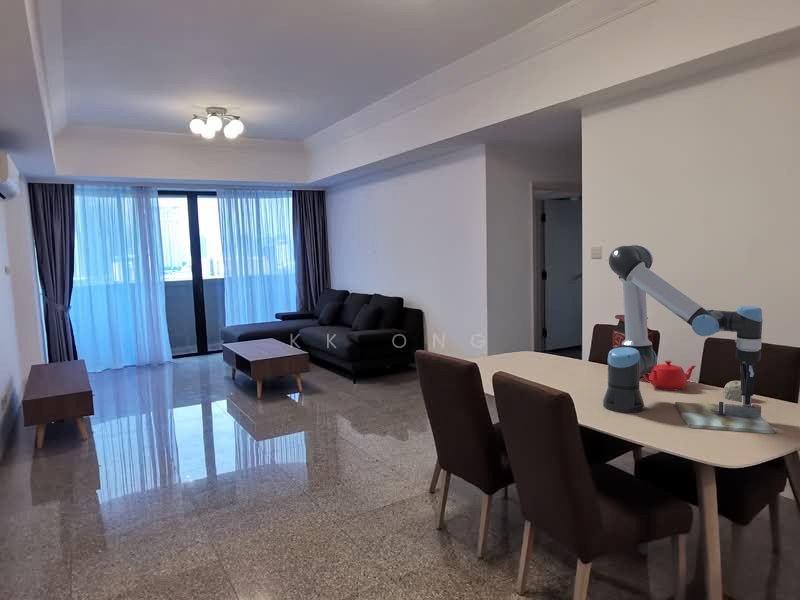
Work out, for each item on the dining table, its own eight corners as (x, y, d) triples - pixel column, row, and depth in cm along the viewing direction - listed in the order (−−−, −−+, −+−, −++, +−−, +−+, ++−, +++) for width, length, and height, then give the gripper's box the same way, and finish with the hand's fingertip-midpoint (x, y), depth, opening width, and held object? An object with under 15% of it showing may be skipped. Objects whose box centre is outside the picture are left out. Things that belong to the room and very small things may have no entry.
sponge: (744, 411, 214) (760, 391, 212) (723, 397, 215) (739, 378, 213) (734, 404, 223) (750, 385, 221) (714, 391, 224) (730, 372, 222)
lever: (724, 412, 195) (724, 402, 195) (759, 415, 190) (760, 404, 190) (725, 414, 192) (725, 404, 192) (761, 417, 188) (762, 406, 188)
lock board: (688, 427, 185) (689, 410, 185) (675, 404, 212) (675, 390, 211) (775, 433, 177) (775, 416, 176) (750, 409, 203) (750, 394, 203)
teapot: (651, 392, 230) (652, 365, 229) (634, 384, 246) (634, 358, 244) (706, 390, 231) (707, 363, 230) (685, 381, 247) (686, 356, 246)
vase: (611, 372, 268) (612, 314, 265) (637, 371, 269) (637, 313, 267) (626, 379, 254) (627, 318, 251) (653, 377, 256) (654, 316, 253)
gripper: (732, 345, 197) (730, 405, 200) (740, 352, 185) (738, 416, 188) (756, 345, 194) (754, 407, 197) (765, 353, 182) (762, 418, 185)
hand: (746, 412), depth 192 cm, fingers closed
